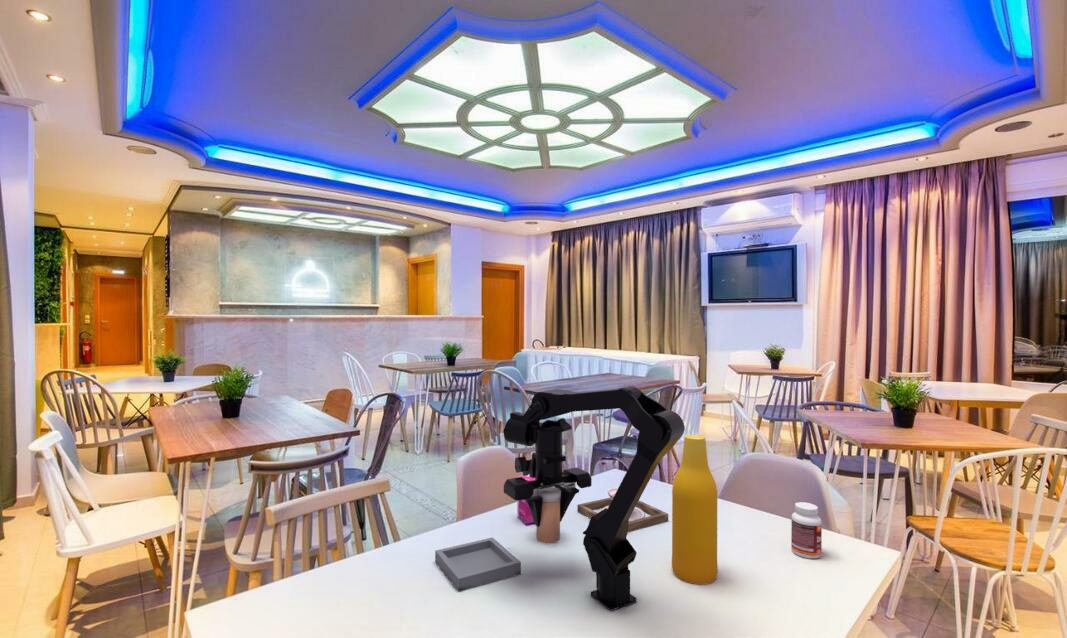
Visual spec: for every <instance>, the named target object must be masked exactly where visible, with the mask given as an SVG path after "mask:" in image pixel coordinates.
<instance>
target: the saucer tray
mask: <svg viewBox="0 0 1067 638" xmlns="http://www.w3.org/2000/svg"><path fill="white" fill-rule="evenodd" d="M611 501H612V500H611V497H607V498H601V499H598V500H593V501H588V502H583V503H579V504H576V505H577V510H576V511H577V513H579V514H580V513H581V514H580V515H582V516H583V517H585V516H586V517H585V518H587V517H588V518H587V519H589V520H590V519H591V517H592V516H594V515H595V514H597V513H598V512H597V511H596V510H600V508H601V509H602V508H604V507H606V506H609V505H610V503H611ZM636 507H637V508H639V509H641V510H642V511H643V512H644V513H645V514H647V515H648V516H644V518H641V519H637V520H633V521H629V524H628V533H630V532H633V531H637V530H641V529H645V528H648V527H651V526H652V527H653V526H655V525H659V524H663V523H667V522H669V513H667V512H666V511H663V510H662V509H661V510H660V509H659V508H657V507H655V506H651V505H650V504H648V503H646V502H644V501H642V500H639V501H638V503H637V505H636Z"/></svg>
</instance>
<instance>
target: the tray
mask: <svg viewBox="0 0 1067 638" xmlns="http://www.w3.org/2000/svg"><path fill="white" fill-rule="evenodd" d="M434 560H435V561H434V562H435V564H436V565H437V567H438V568H440V570H441V572H442V573H443V574H444V575H445V576H446V577H447V579H448V580H449V581H450V583H451V584H452V585H453V586H454V588H455V589H456V590H457V591H458V592H461V591H466V590H469V589H473V588H476V587H479V586H483V585H487V584H491V583H495V582H497V581H501V580H504V579H508V578H513V577H515V576H519V575H522V561H520V560H519V559H518V558H517V557H516V556H515V555H513V553H511V551H509V550H508V549H507V548H506V547H505V546H503V545H502V544H501V543H500V542H499V541H498V540H496V539H495V538H494V537H493V536H492V537H488V538H484V539H478V540H476V541H471V542H467V543H462V544H458V545H454V546H453V545H452V546H450V547H446V548H445V547H444V548H441V549H437V550H435V553H434Z"/></svg>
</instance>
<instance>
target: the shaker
mask: <svg viewBox="0 0 1067 638" xmlns="http://www.w3.org/2000/svg"><path fill="white" fill-rule="evenodd" d="M539 496H541V497H542V498H543V501H542V512H541V522H540V526H539V527H537V526H536V525H535V527H536V529H535V531H536V534H535V538H536V539H535V540H537V541H538V542H540V543H542V544H554V543H558V542H559V541H560V540H561V522H560V499H561V490H560V489H558V488H555V487H549V488H544V489H539Z"/></svg>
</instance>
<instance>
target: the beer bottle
mask: <svg viewBox="0 0 1067 638" xmlns="http://www.w3.org/2000/svg"><path fill="white" fill-rule="evenodd" d="M682 446H683V448H682V453H681V454H682V455H681V456H682V457H681V463H680V466H679V469H678V470H677V473H676V474H675V476H674V478H673V482H672V489H671V491H672V492H671V495H672V496H671V497H672V498H671V499H672V502H671V503H672V504H671V505H672V506H671V509H672V510H671V511H672V512H671V513H672V514H671V518H672V522H671V525H672V526H671V529H672V530H671V536H672V537H671V538H672V539H671V570H672V572H673V574H674V575H675V577H677V578H678V579H680V580H681V581H684V582H686V583H690V584H694V585H707V584H711V583H713V582H714V581H715V580H716V579H717V577H718V570H719V569H718V568H719V567H718V489H717V488H718V487H717V484H716V481H715V479H714V476H713V474H712V472H711V470H710V468H709V461H708V452H707V443H706V437H705V436H704V435H699V434H686V435H684V439H683V445H682Z"/></svg>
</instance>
